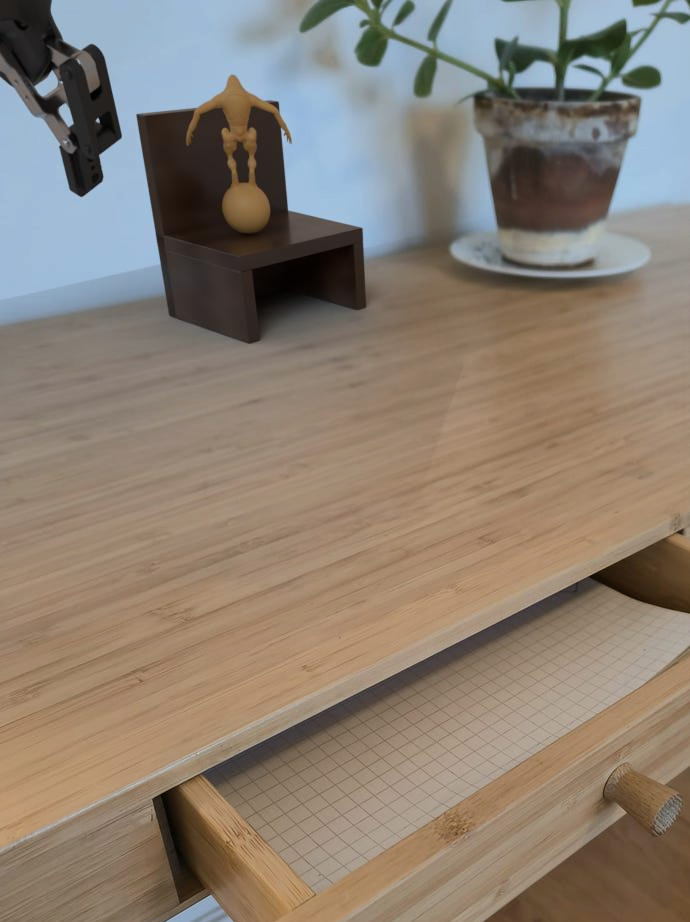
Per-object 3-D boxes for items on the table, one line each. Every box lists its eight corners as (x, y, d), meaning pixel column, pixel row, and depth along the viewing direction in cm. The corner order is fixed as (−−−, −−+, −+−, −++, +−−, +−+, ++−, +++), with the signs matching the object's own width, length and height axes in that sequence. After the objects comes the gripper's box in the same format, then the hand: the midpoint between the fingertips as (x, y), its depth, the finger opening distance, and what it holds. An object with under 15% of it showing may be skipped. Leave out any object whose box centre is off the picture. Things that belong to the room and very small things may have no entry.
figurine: (295, 226, 85) (282, 69, 78) (302, 242, 80) (289, 77, 73) (198, 229, 83) (176, 69, 76) (200, 246, 78) (177, 77, 71)
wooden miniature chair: (168, 315, 86) (135, 113, 76) (286, 284, 94) (270, 99, 85) (249, 343, 80) (223, 129, 71) (366, 307, 89) (357, 113, 80)
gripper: (122, -74, 50) (158, 180, 65) (-94, -206, 51) (-11, 74, 66) (20, -11, 47) (82, 242, 62) (-209, -152, 48) (-94, 130, 63)
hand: (34, 155), depth 64 cm, fingers open, 8 cm apart
